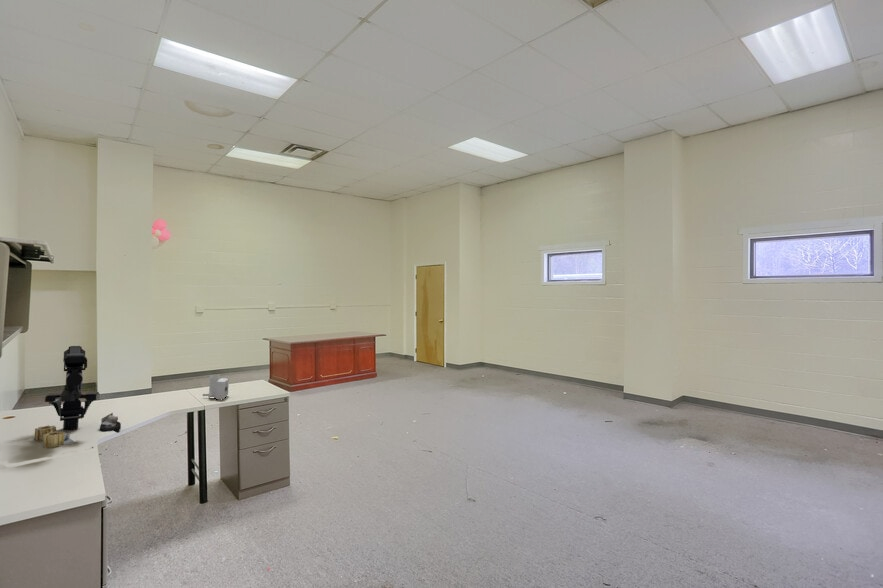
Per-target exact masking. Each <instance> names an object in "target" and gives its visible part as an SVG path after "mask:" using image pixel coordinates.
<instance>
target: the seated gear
mask: <svg viewBox="0 0 883 588" xmlns="http://www.w3.org/2000/svg"><path fill="white" fill-rule="evenodd" d="M56 431H57V426H55V425H45V426H38V427H37V428H34V441H35V442H38V441H43V435H44V434H47V433H51V432H56Z"/></svg>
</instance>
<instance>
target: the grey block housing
mask: <svg viewBox="0 0 883 588" xmlns="http://www.w3.org/2000/svg"><path fill="white" fill-rule="evenodd" d="M229 380H230V378H224V377H223V378H220V375H219V374H212V375H210V376H209V389H208V390H209V391H208V393H203V394H202V397H207V396H208V398H209V397H214V398H216V399H224V398H225V397H226V396H227V395H228V396H229V386H230V385H229V384H230V383H229V382H230V381H229ZM228 396H227V397H228ZM227 397H226V398H227ZM214 398H213V399H214ZM226 398H225V399H226ZM216 399H215V400H216ZM225 399H224V400H225Z"/></svg>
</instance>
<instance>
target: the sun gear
mask: <svg viewBox="0 0 883 588" xmlns="http://www.w3.org/2000/svg"><path fill="white" fill-rule="evenodd" d="M64 432H65V440H69V438H70V439H71V437H70V436H71V433H70V432H66V431H64ZM65 440H64V441H65Z"/></svg>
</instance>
